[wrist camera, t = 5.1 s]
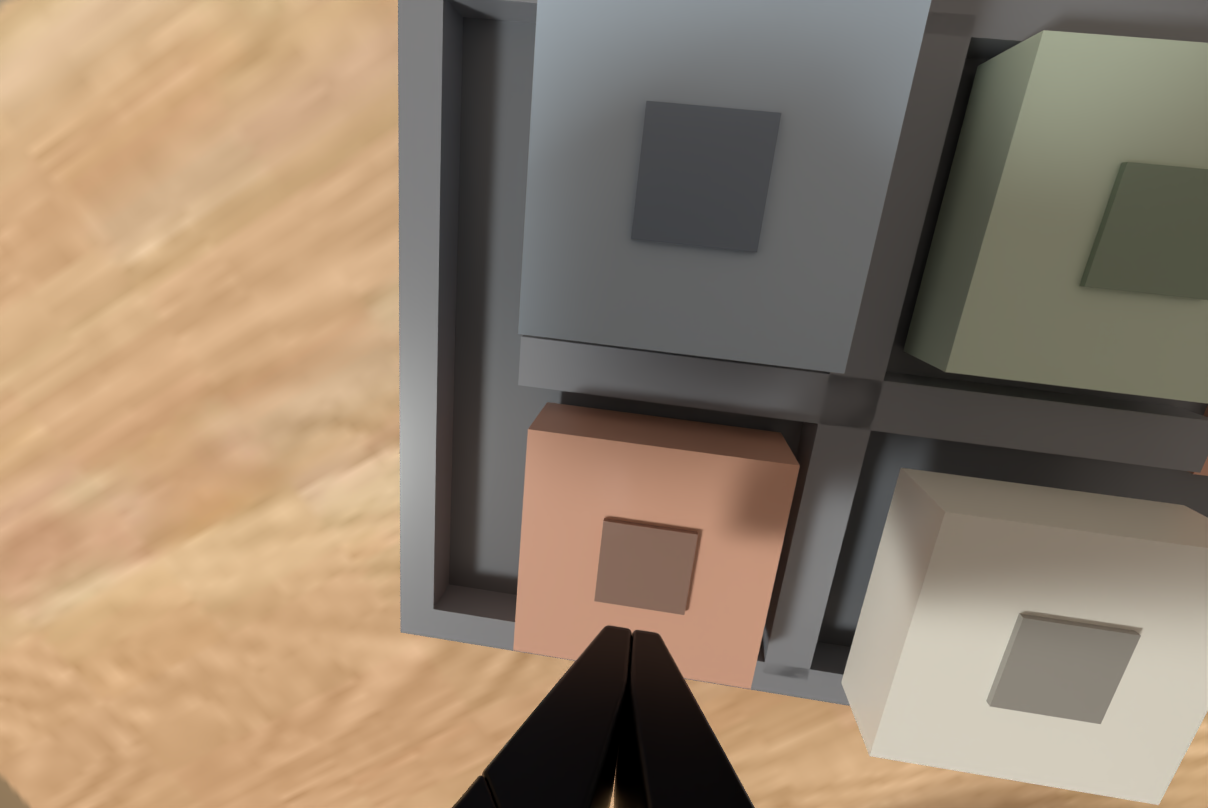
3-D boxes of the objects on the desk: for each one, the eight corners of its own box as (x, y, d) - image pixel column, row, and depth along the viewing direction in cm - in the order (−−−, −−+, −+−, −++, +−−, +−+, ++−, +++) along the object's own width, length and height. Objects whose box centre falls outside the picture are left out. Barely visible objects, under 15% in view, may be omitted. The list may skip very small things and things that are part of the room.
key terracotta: (781, 433, 12) (801, 468, 10) (740, 630, 13) (751, 693, 12) (547, 402, 12) (526, 431, 11) (532, 598, 14) (511, 654, 12)
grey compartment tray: (1409, 64, 10) (1596, 22, 8) (1123, 686, 14) (1200, 763, 12) (446, -10, 12) (397, -64, 10) (436, 579, 16) (400, 632, 14)
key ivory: (1184, 505, 10) (1294, 563, 9) (1087, 722, 12) (1164, 811, 10) (900, 467, 11) (949, 515, 9) (841, 682, 12) (871, 761, 10)
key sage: (1291, 92, 9) (1442, 57, 8) (1172, 383, 11) (1274, 412, 9) (977, 66, 10) (1048, 27, 8) (902, 350, 11) (948, 374, 9)
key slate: (882, 33, 9) (939, -20, 7) (814, 350, 10) (846, 375, 8) (564, 8, 9) (537, -49, 7) (542, 317, 11) (516, 335, 9)
